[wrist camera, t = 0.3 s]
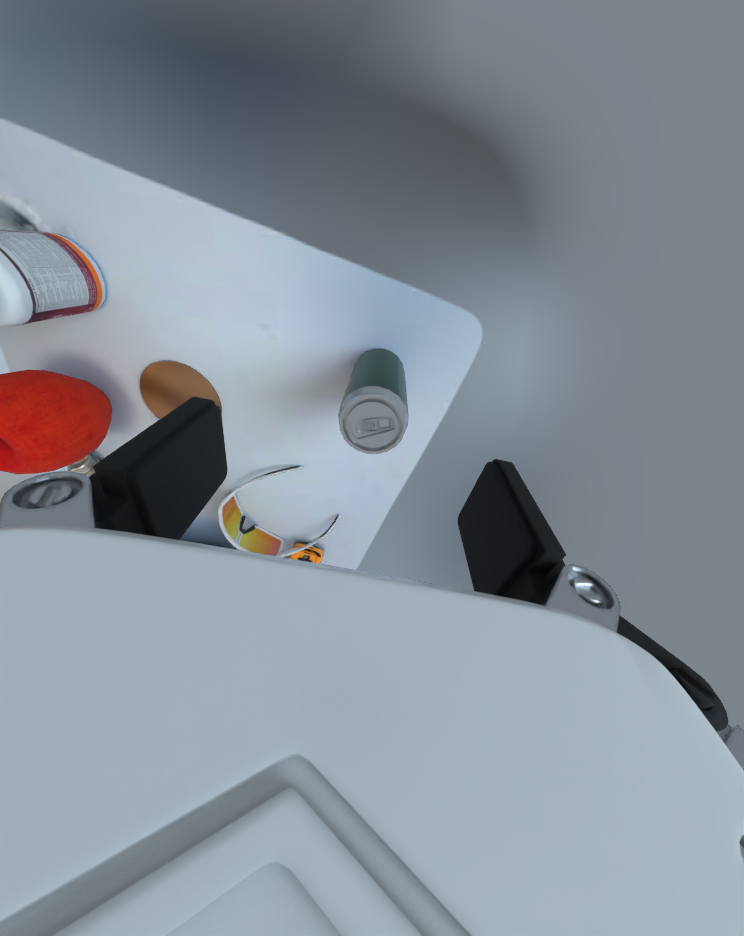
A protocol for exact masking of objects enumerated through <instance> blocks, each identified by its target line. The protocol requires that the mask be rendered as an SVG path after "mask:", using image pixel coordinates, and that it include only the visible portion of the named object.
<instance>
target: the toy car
mask: <svg viewBox="0 0 744 936" xmlns="http://www.w3.org/2000/svg"><path fill="white" fill-rule="evenodd" d="M305 545H307V544H303V543H296V544H295V545H294V547H293V548H299V547H302V546H305ZM322 557H323V551H322V550H321V549H319V548H317V547H315V546H314V545H311V546H310V547H308V548H306V549H304V550H302V551H299V552H297V553H294V554H291V555H290V559H295V560H301V561H306V562H312V563H318V564H320V563H321V561H322Z"/></svg>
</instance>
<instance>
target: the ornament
mask: <svg viewBox="0 0 744 936" xmlns="http://www.w3.org/2000/svg"><path fill="white" fill-rule="evenodd" d="M98 462H100V460H99V459H98V458H96V457H94V456H91V455H90V454H88V455H87V456H86V457H84V458H83V459H81V460H80V461H78V462H75V463H72V464H70V465H68V472H77V473H81V474H84V475H85V476H87V477H90V476H91V475H92V474H94V473H95V470H94V468H93V466H94V465H95V464H97V463H98Z"/></svg>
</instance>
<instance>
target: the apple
mask: <svg viewBox="0 0 744 936" xmlns="http://www.w3.org/2000/svg"><path fill="white" fill-rule="evenodd" d="M111 414H112V407H111V405H110V402H109V399H108V398H107V397H106V396H105V394H104V393H103V392H102V391H101V390H100V389H98V388H97V387H95V386H94V385H92V384H90V383H89V382H86V381H83V380H79V379H76V378H72V377H69V376H65V375H61V374H58V373H54V372H49V371H44V370H24V371H17V372H11V373H6V374H1V375H0V471H4V472H10V473H15V474H30V473H31V474H32V473H41V472H48V471H54V470H57V469H59V468H62V467H65V466H67V465H70V464H72V463H75V462H78V461H80V460H81V459H83V458H84V457H86V456H87V455H88V454H90V453H91V452H92V451H94V450H95V449H96V448H97V447H99V445H100V444H101V442H102V441H103V440H104V438H105V437H106V434H107V431H108V428H109V425H110V421H111Z"/></svg>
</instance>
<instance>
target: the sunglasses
mask: <svg viewBox="0 0 744 936" xmlns="http://www.w3.org/2000/svg"><path fill="white" fill-rule="evenodd" d="M301 468H303V467H302V466H296V467H290V468H285V469H281V470H277V471H274V472H270V473H267V474H264V475H261V476H258V477H256V478H254V479H252V480H250V481H248V482H246V483H244V484H242V485H241V486H239V487H237V488H235V489H233V490H232V491H230V492H229V493H228V494H227V495H226V496H225V497H224V498H223V499H222V500H221V502H220V506H219V513H218V514H219V524H220V527H221V530H222V532H223V534H224V535H225V537H226V538H227V540H228V541H229V542H230V543H231V544H232V545H233V546H235V547H236V548H237V549H238V550H242V551H248V552H254V553H260V554H265V555H271V556H277V557H285V556H288V555H291V554H294V553H297V552H299V551H302V550H304V549H306V548H308V547H310V546H311V545H313V544H315V543H317V542H318V541H320V540H321V539H323V538H324V537H325V536H326V535H327V534H328V533H329V532H330V531H331V529H332V528H333V526H334V525H335V524H336V522H337V521H338V519H339V518H340V516H341V515H340V514H339V515H338V516H337V518H336V519H335V521H334V522H333V523H332V525H331V526H330V527H329V529H328V530H327V531H326V532H325V533H324V534H322V535H321V536H320V537H318V538H316V539H314V540H313V541H312V542H310V543H308V544H307V545H305V546H302V547H299V548H293V549H288V550H286V551H282V549H283V545H284V539H282V538H280V537H278V536H276V535H274V534H272V533H270V532H268V531H266V530H264V529H262V528H260V527H258V526H252V527H251V528H249V529H248V530H246V531H244V530H243V529H242V527H243V524H244V520H245V516H243V511H242V509H241V507H240V505H239V503H238V500H237V497H236V493H237V492H238V491H240V490H241V489H242V488H244V487H245V486H247V485H249V484H251V483H253V482H255V481H257V480H260V479H263V478H266V477H269V476H272V475H276V474H279V473H283V472H287V471H292V470H297V469H301Z"/></svg>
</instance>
